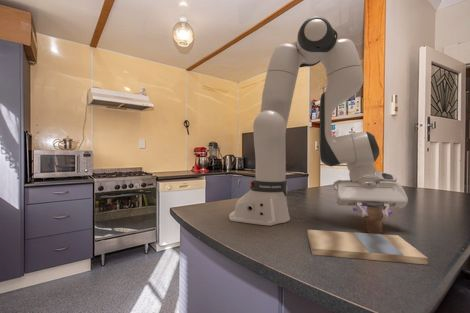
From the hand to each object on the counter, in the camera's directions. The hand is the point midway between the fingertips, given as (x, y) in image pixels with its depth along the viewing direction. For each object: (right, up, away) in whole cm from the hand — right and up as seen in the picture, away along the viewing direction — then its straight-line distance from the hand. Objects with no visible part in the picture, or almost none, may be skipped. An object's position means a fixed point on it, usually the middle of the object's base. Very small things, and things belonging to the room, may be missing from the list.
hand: (375, 217), depth 71 cm
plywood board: (-10, -5, -10) cm, 16 cm away
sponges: (+14, -5, +25) cm, 29 cm away
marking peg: (0, -5, +1) cm, 5 cm away
